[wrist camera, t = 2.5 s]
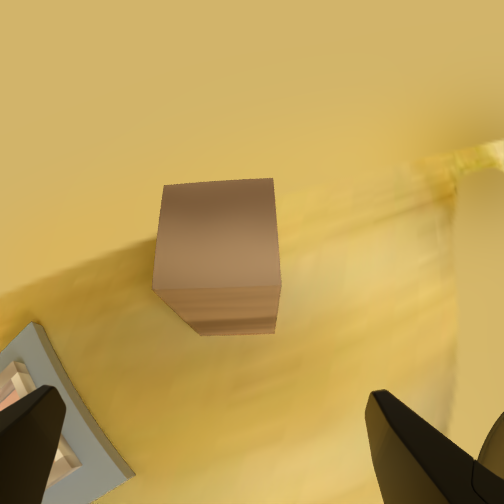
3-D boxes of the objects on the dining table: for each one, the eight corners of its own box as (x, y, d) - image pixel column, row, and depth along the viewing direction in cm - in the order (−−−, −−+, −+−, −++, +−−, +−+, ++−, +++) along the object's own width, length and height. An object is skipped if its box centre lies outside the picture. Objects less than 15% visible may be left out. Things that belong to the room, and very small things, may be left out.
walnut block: (274, 333, 21) (281, 285, 12) (200, 335, 21) (151, 289, 12) (270, 265, 23) (273, 178, 14) (202, 267, 23) (164, 185, 14)
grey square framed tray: (135, 474, 17) (118, 484, 14) (38, 530, 13) (18, 538, 10) (42, 325, 21) (20, 316, 19) (-33, 402, 18) (-54, 399, 15)
